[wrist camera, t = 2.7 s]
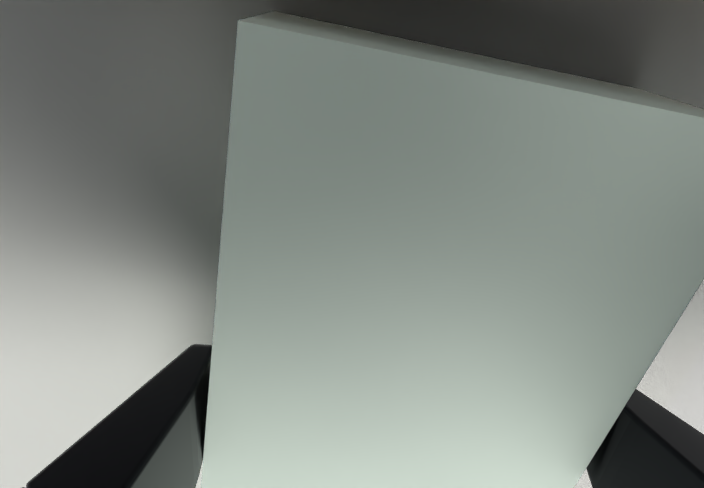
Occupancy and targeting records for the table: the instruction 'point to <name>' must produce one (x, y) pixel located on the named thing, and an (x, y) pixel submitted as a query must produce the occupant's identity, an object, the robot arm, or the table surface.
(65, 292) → the table surface
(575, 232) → the pale green rectangular block
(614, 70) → the table surface
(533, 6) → the table surface
